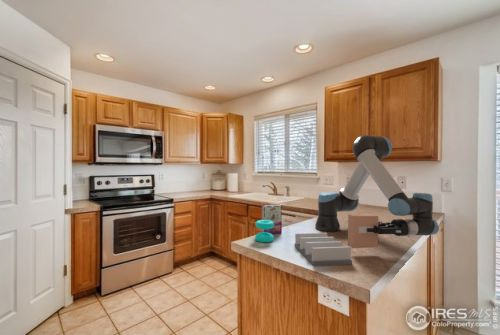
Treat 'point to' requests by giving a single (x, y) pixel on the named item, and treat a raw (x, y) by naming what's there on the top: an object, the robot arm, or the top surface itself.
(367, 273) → the top surface
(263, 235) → the donuts
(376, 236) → the terracotta tile
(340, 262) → the dish rack
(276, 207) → the candy bar box
